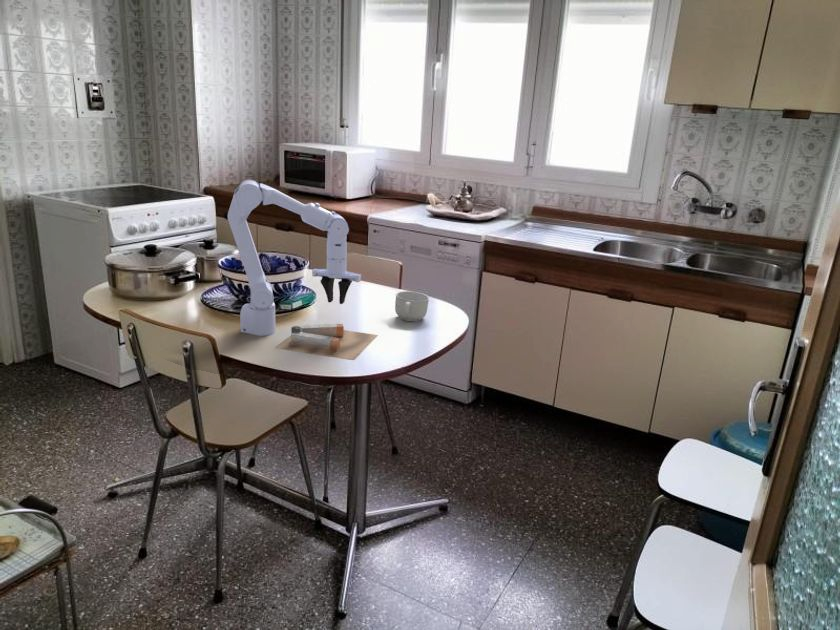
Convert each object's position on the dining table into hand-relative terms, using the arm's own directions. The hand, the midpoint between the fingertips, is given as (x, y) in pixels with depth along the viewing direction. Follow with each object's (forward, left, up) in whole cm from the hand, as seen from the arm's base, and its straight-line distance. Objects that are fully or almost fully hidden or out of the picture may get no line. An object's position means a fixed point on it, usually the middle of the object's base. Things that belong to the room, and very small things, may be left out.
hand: (336, 302), depth 182 cm
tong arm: (-1, -8, -8) cm, 11 cm away
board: (+2, -11, -9) cm, 14 cm away
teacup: (+18, +19, -10) cm, 28 cm away
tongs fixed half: (0, -14, -8) cm, 17 cm away
